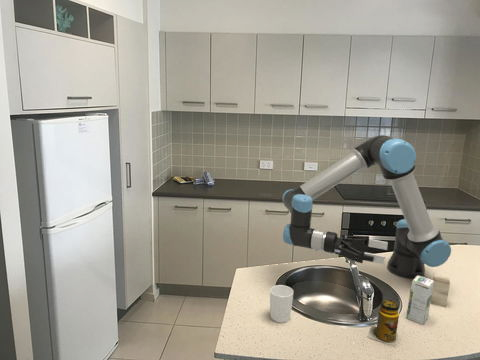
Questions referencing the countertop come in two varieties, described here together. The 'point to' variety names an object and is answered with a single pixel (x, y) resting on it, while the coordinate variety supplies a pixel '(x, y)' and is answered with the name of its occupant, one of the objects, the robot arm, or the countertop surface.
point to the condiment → (386, 323)
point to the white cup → (280, 303)
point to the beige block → (440, 290)
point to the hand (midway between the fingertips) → (386, 252)
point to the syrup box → (420, 299)
